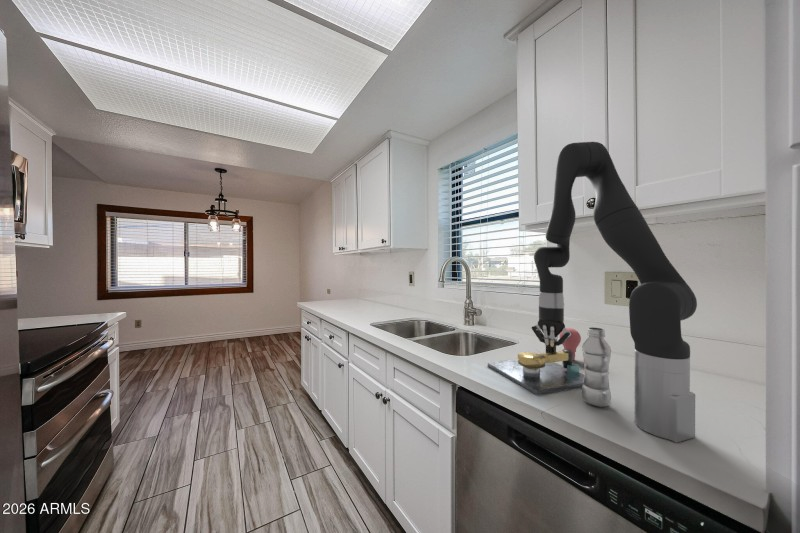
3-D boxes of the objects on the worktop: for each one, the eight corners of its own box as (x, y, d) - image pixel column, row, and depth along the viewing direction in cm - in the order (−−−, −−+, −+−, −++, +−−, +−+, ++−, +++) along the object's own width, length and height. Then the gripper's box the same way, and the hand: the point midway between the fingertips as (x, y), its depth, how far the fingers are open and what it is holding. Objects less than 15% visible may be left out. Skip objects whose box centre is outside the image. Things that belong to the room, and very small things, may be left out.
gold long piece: (529, 378, 87) (529, 360, 87) (512, 369, 95) (512, 352, 95) (581, 370, 93) (581, 354, 93) (561, 362, 100) (561, 347, 100)
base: (597, 384, 89) (597, 367, 89) (537, 395, 82) (537, 377, 82) (538, 359, 112) (538, 346, 111) (487, 366, 105) (487, 352, 105)
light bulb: (575, 356, 114) (575, 326, 114) (584, 362, 107) (584, 330, 107) (556, 356, 115) (556, 326, 115) (564, 362, 108) (564, 330, 108)
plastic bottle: (575, 400, 78) (575, 327, 78) (593, 396, 81) (593, 325, 80) (599, 412, 72) (599, 332, 72) (617, 407, 75) (617, 330, 74)
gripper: (526, 304, 101) (526, 353, 101) (567, 309, 90) (567, 364, 91) (536, 302, 105) (536, 349, 106) (576, 306, 95) (576, 358, 95)
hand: (550, 356), depth 98 cm, fingers closed
